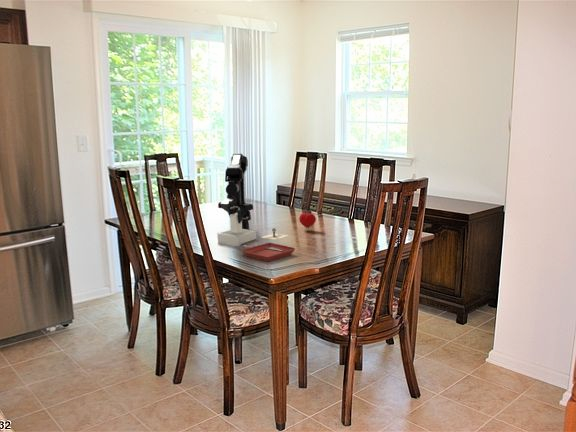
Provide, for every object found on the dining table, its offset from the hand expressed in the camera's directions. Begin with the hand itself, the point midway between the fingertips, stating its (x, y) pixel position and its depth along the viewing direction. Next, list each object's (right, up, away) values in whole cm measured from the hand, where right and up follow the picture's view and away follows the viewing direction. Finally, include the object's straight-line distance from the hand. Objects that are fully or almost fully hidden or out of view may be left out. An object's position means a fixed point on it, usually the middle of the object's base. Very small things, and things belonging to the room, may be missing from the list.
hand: (236, 222), depth 281 cm
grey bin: (0, -10, +2) cm, 10 cm away
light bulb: (+36, -5, +18) cm, 41 cm away
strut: (0, -4, +1) cm, 5 cm away
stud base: (+19, -8, +7) cm, 22 cm away
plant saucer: (+17, -15, -24) cm, 33 cm away
